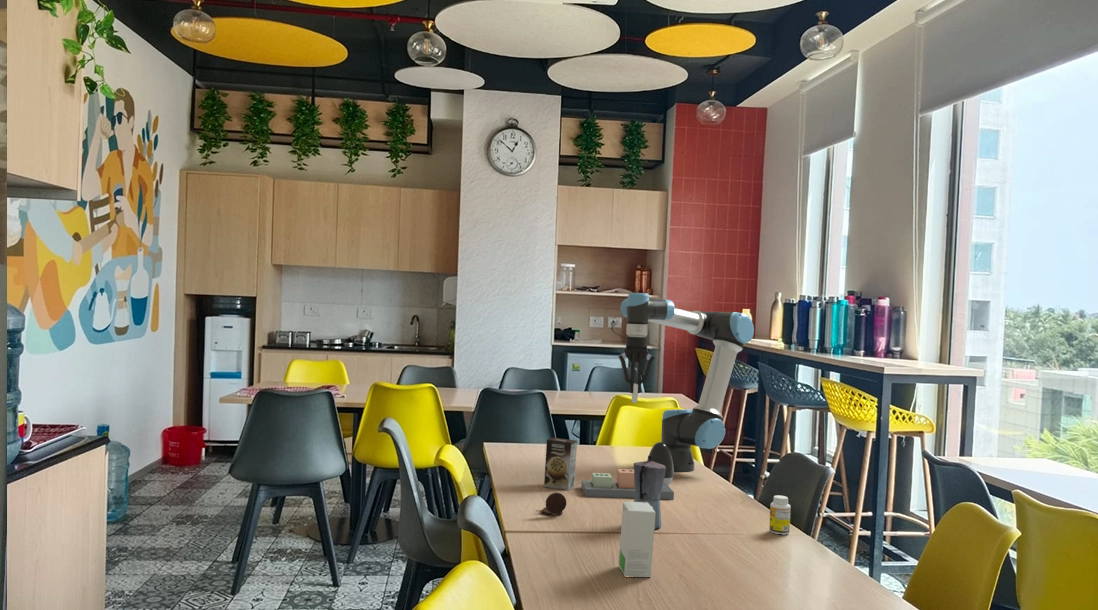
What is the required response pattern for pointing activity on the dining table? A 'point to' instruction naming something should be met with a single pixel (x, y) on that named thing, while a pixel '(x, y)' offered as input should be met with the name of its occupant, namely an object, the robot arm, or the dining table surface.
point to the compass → (554, 504)
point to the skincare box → (637, 539)
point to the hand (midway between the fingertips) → (634, 402)
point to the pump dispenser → (663, 460)
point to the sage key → (601, 480)
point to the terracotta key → (625, 478)
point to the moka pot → (649, 485)
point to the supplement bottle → (780, 515)
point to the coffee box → (560, 463)
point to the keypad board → (619, 491)
